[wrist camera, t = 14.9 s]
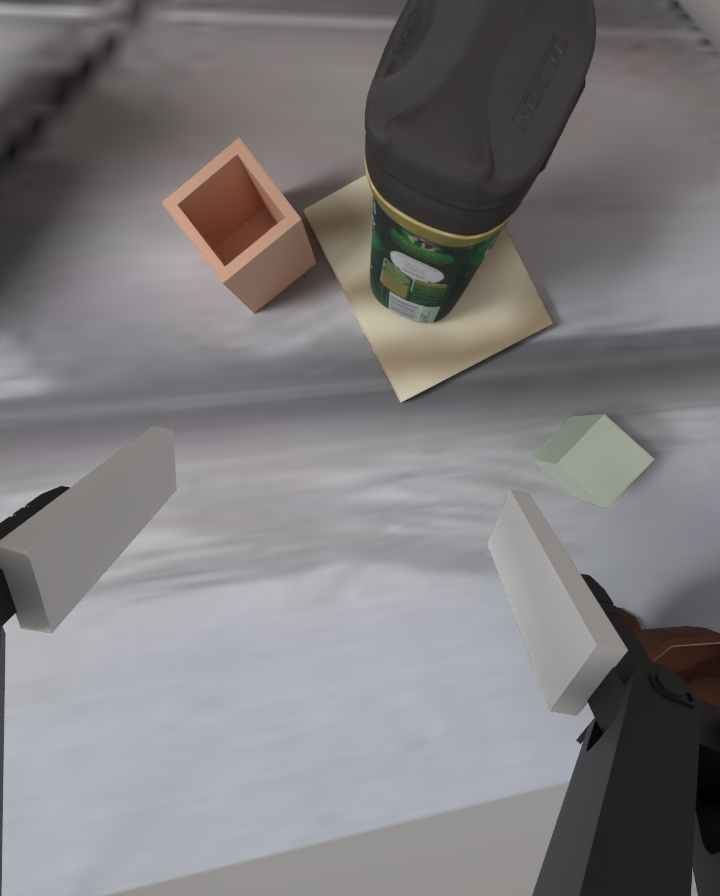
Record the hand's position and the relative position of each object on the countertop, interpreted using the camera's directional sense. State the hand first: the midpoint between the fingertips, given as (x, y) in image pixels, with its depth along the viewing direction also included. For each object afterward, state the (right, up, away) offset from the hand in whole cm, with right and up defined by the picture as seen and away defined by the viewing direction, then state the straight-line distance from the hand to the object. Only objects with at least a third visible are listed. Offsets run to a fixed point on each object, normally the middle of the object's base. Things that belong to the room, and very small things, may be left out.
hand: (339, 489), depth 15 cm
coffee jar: (+6, +17, +17) cm, 24 cm away
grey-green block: (+19, +1, +18) cm, 26 cm away
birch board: (+6, +17, +18) cm, 25 cm away
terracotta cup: (-8, +18, +18) cm, 27 cm away
